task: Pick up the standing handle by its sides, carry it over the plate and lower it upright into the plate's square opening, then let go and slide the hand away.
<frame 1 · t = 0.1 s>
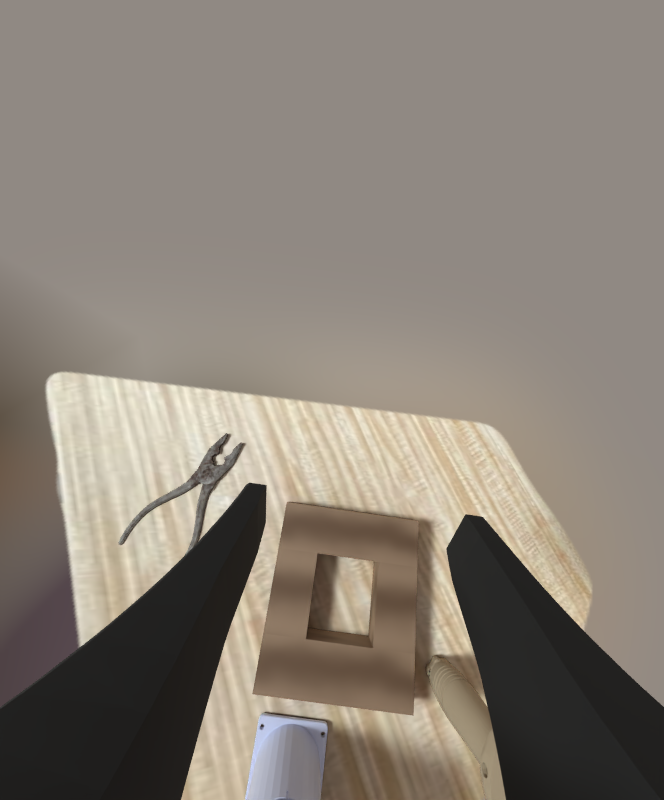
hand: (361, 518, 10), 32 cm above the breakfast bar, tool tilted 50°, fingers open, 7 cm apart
socket plate: (341, 590, 37), on the breakfast bar
pliers: (185, 494, 40), on the breakfast bar
handle: (436, 669, 35), on the breakfast bar
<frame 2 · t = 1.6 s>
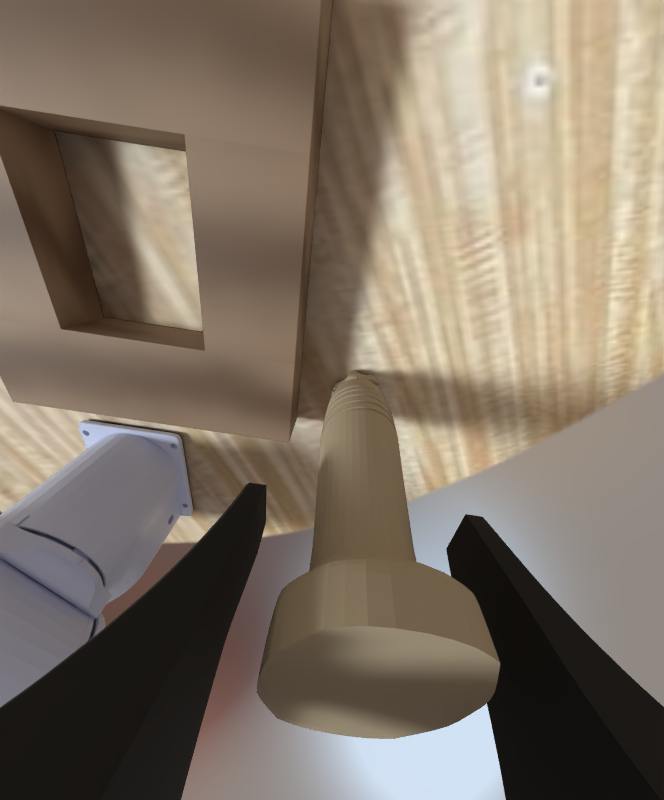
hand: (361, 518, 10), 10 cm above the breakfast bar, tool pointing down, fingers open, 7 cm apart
socket plate: (152, 247, 16), on the breakfast bar
handle: (356, 388, 19), on the breakfast bar
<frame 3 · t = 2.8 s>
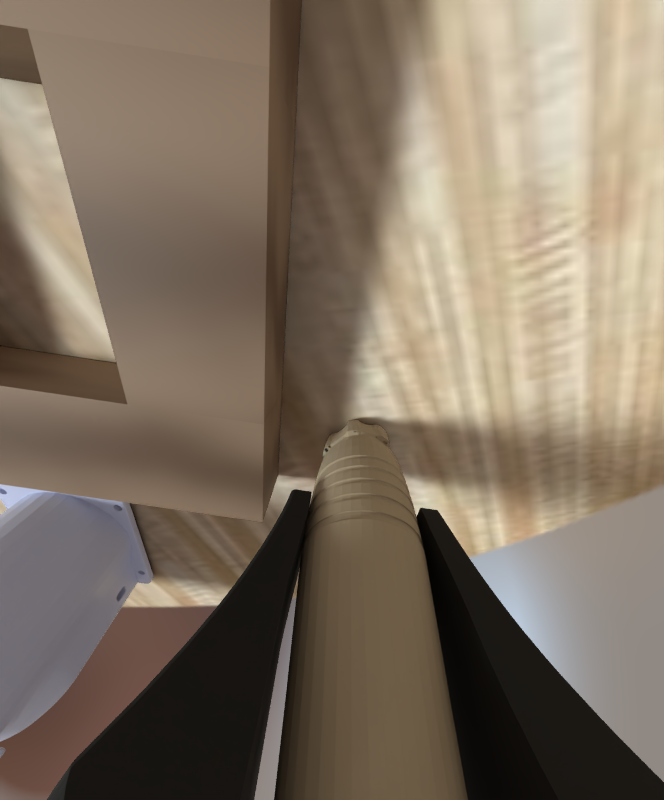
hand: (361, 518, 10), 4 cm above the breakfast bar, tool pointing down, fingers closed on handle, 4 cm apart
socket plate: (51, 247, 10), on the breakfast bar
handle: (358, 440, 14), on the breakfast bar, touching gripper
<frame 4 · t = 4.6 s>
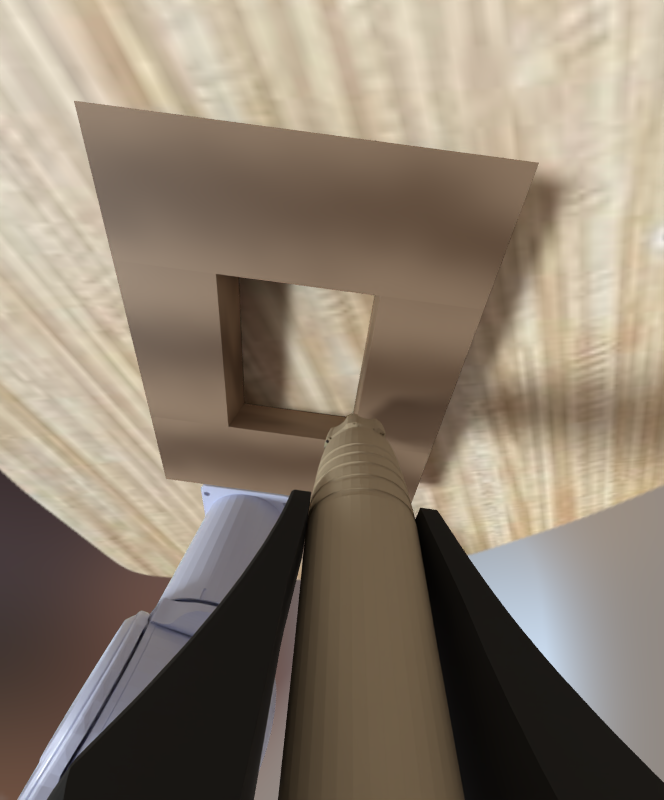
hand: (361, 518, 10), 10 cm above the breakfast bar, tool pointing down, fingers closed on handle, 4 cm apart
socket plate: (302, 352, 18), on the breakfast bar
handle: (357, 434, 15), point 5 cm above the breakfast bar, touching gripper
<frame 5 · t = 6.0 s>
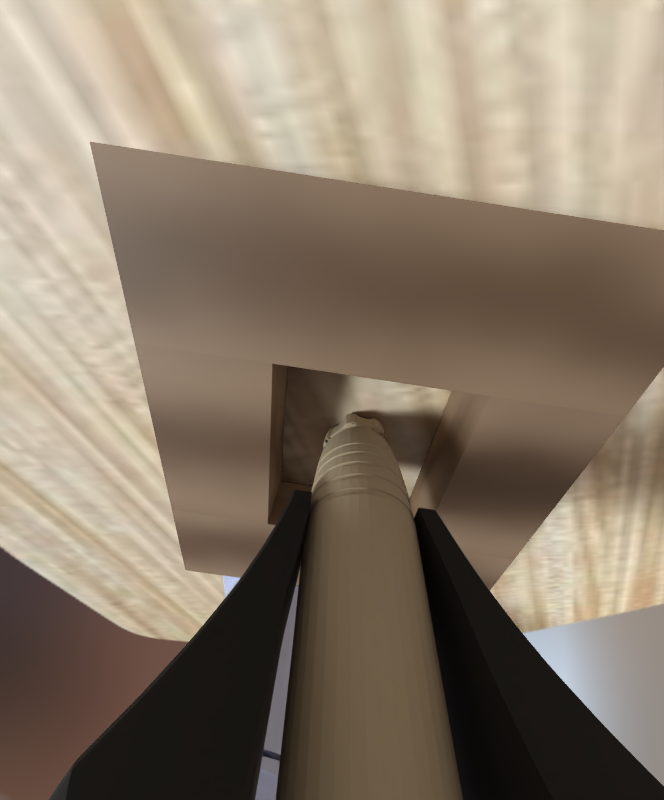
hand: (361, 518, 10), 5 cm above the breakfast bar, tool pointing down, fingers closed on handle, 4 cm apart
socket plate: (358, 431, 15), on the breakfast bar
handle: (356, 434, 15), resting in socket plate, touching gripper
when the fingers open (5 cm above the breakfast bar, at t = 6.3 s): handle stays where it is, resting in socket plate.
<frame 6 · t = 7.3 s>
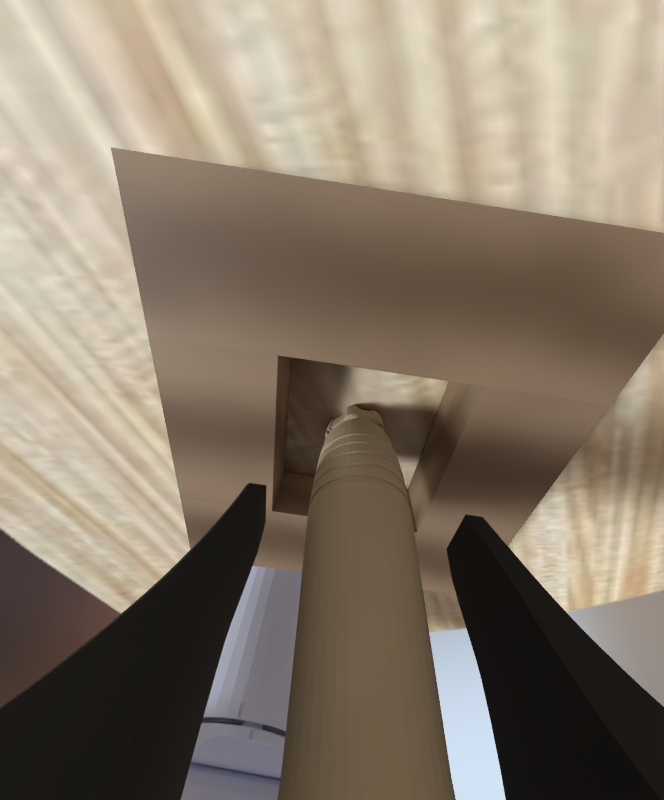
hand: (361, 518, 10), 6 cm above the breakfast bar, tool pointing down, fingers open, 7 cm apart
socket plate: (358, 423, 15), on the breakfast bar
handle: (356, 425, 16), resting in socket plate
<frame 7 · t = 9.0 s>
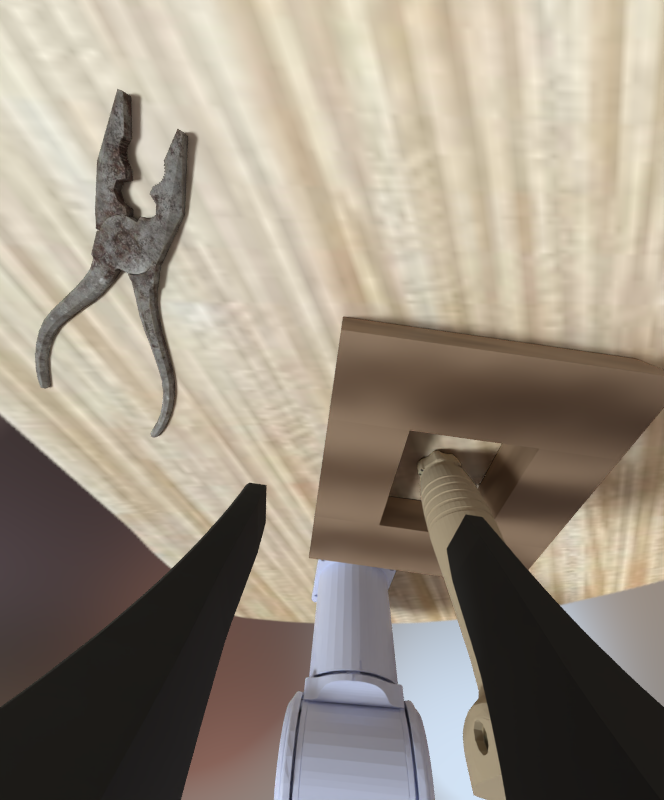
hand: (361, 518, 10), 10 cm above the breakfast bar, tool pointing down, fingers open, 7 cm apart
socket plate: (438, 461, 22), on the breakfast bar
pliers: (108, 296, 18), on the breakfast bar
handle: (435, 462, 22), resting in socket plate
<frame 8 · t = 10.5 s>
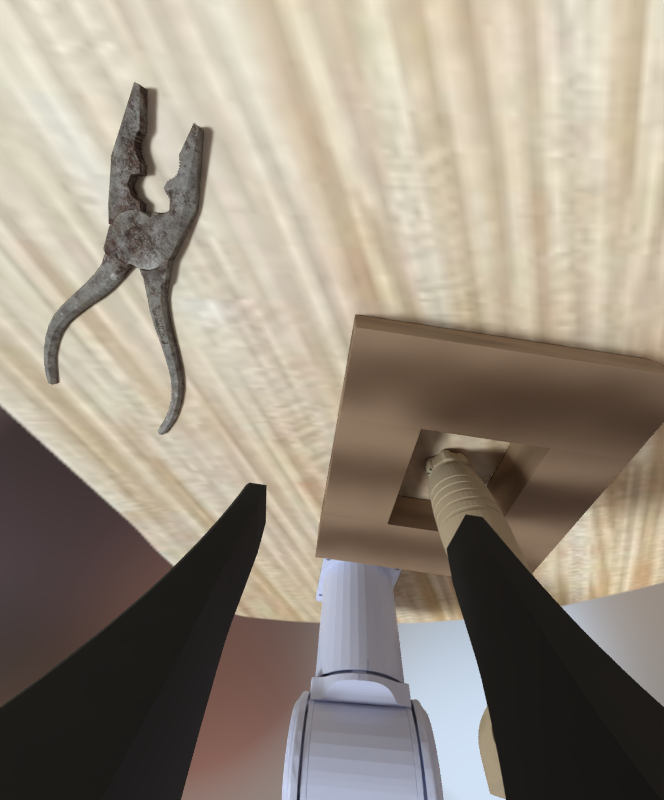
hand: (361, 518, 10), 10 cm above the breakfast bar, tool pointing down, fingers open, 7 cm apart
socket plate: (446, 461, 22), on the breakfast bar
pliers: (118, 292, 18), on the breakfast bar
handle: (444, 462, 22), resting in socket plate
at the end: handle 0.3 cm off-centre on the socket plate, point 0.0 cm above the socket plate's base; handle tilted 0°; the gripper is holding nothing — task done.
